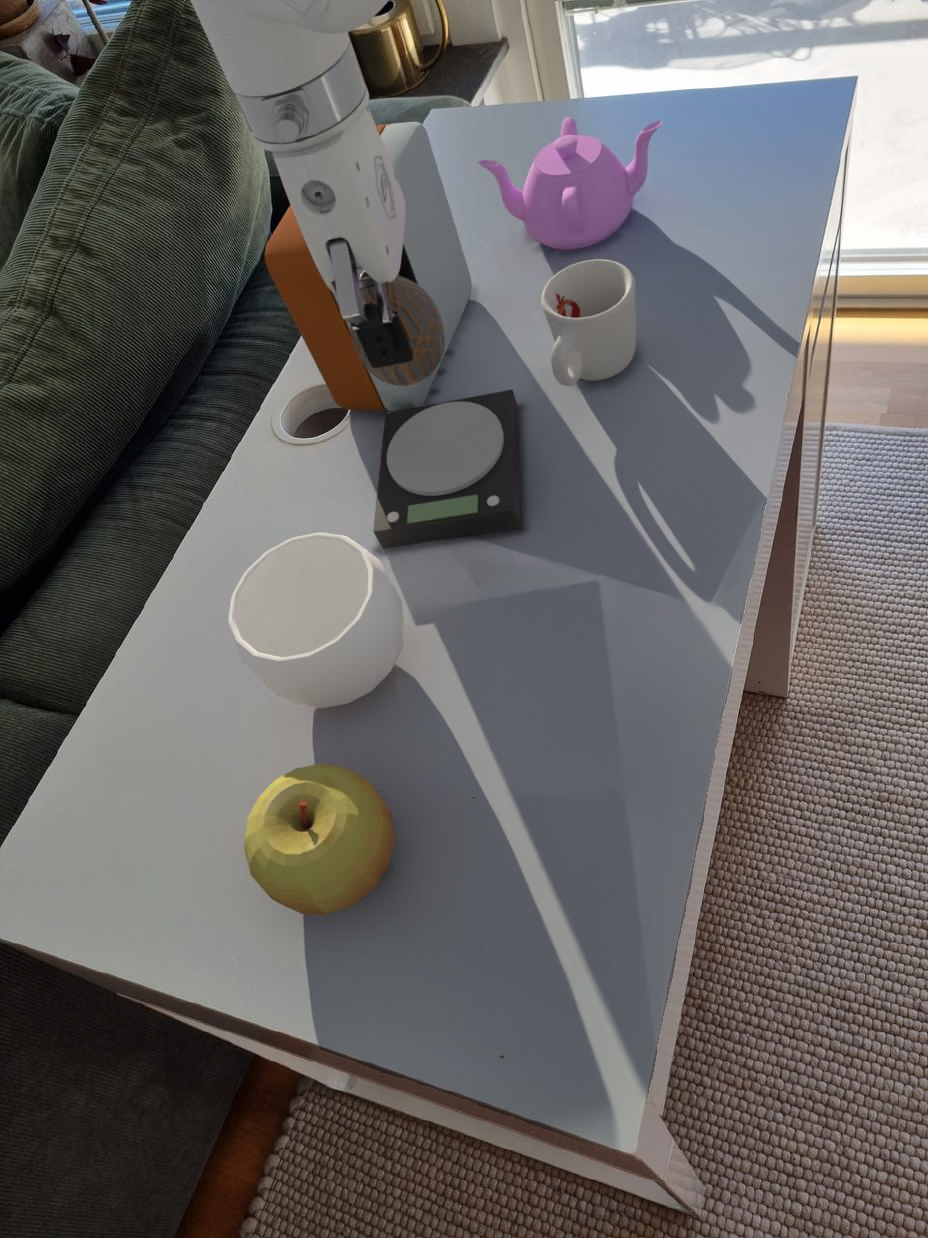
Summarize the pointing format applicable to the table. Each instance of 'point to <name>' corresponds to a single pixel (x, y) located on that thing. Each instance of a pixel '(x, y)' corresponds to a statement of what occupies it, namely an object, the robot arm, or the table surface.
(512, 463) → the scale
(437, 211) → the alarm clock
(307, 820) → the apple
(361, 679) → the cup
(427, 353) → the vase
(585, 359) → the cup
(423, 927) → the table surface
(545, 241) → the teapot
